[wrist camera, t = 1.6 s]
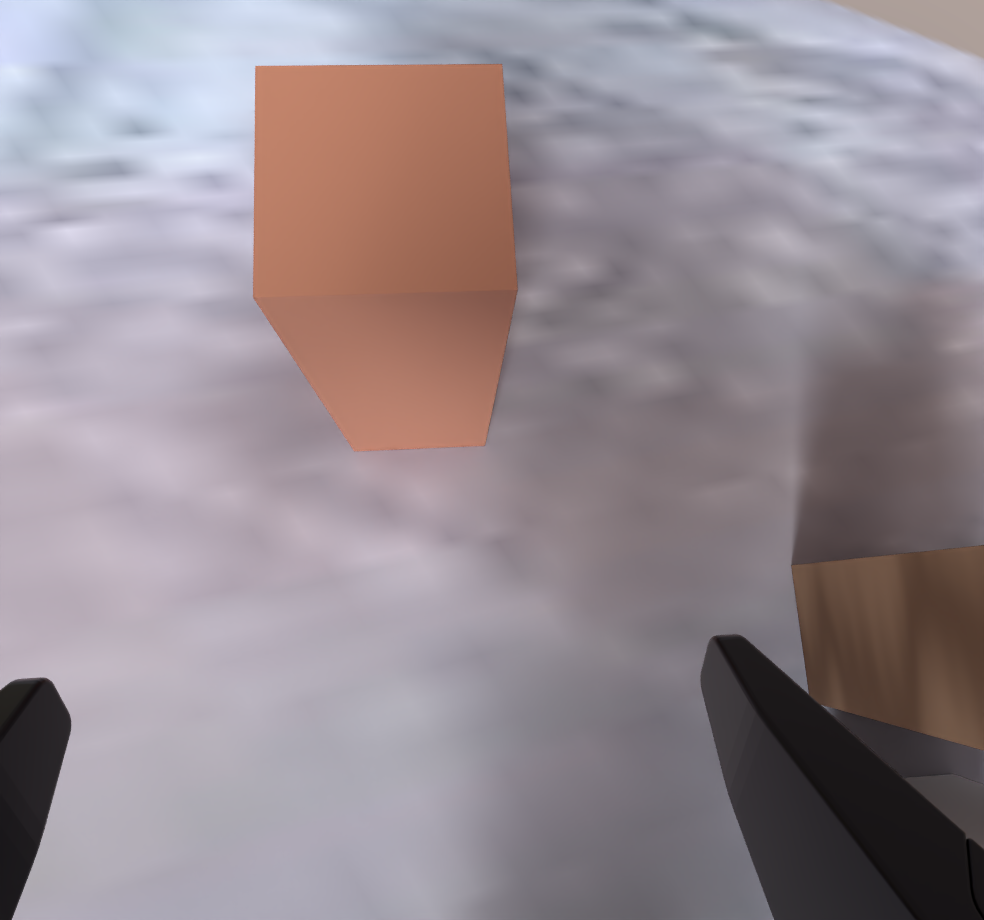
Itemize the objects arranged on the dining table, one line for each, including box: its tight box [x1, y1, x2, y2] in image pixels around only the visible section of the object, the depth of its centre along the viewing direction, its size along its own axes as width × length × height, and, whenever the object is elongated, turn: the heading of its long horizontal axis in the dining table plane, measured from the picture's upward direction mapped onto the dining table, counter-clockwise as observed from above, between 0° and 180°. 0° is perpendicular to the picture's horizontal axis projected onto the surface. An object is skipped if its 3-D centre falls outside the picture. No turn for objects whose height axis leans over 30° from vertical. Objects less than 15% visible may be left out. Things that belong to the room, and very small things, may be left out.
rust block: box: [253, 64, 518, 451], centre depth 19 cm, size 4×4×12 cm
